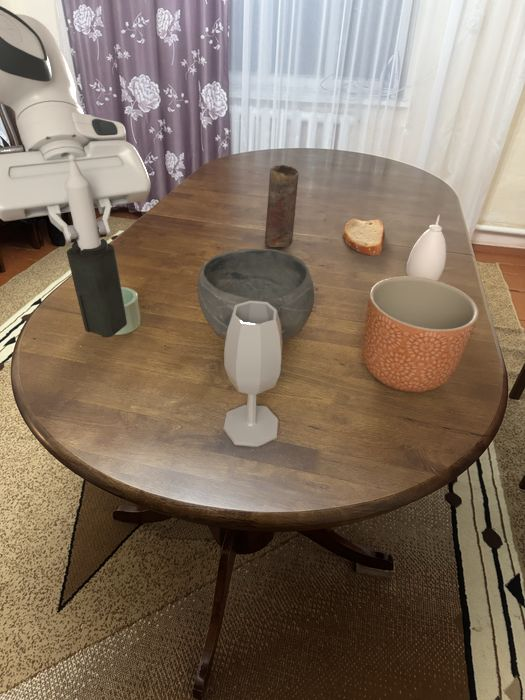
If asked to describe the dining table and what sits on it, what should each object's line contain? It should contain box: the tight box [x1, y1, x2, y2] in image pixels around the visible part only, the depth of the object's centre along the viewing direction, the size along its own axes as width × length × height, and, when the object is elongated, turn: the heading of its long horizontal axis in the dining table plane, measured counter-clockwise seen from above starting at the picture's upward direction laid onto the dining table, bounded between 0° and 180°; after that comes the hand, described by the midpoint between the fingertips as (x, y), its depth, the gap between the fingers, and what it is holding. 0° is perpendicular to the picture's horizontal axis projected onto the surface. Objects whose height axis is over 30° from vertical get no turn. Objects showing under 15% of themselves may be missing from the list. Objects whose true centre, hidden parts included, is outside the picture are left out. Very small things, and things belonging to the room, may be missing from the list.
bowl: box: [197, 248, 315, 344], centre depth 87 cm, size 21×21×15 cm
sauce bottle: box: [405, 214, 447, 281], centre depth 104 cm, size 8×8×18 cm
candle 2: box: [264, 164, 300, 249], centre depth 120 cm, size 8×7×20 cm
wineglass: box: [222, 301, 284, 448], centre depth 66 cm, size 9×9×21 cm
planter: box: [361, 275, 480, 393], centre depth 79 cm, size 17×17×15 cm
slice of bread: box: [342, 218, 386, 257], centre depth 131 cm, size 18×18×4 cm
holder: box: [114, 286, 142, 336], centre depth 92 cm, size 8×8×6 cm
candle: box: [65, 155, 127, 338], centre depth 64 cm, size 5×5×25 cm
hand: (89, 238), depth 62 cm, fingers closed on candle, 3 cm apart
